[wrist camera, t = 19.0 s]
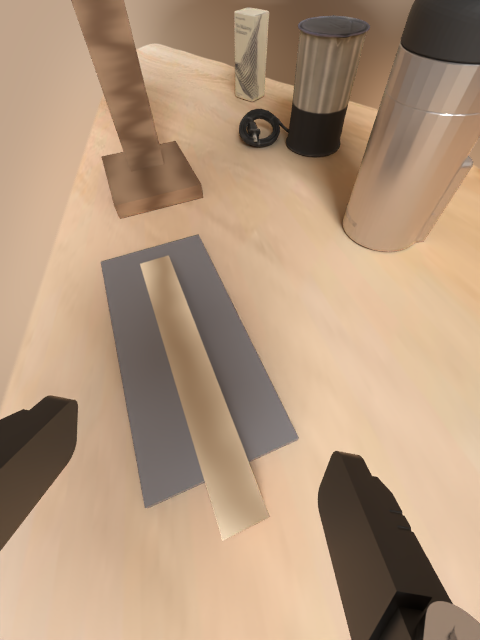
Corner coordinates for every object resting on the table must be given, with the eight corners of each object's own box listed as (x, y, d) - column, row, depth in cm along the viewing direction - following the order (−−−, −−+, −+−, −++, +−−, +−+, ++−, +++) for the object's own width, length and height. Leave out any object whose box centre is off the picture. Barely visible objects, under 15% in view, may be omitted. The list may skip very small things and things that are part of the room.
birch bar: (175, 275, 32) (168, 255, 29) (267, 516, 19) (270, 516, 17) (148, 283, 31) (139, 263, 29) (225, 537, 19) (222, 541, 16)
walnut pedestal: (177, 152, 49) (92, -271, 23) (204, 199, 41) (122, -367, 15) (106, 167, 47) (-81, -283, 20) (120, 220, 39) (-155, -403, 12)
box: (234, 97, 62) (231, 11, 51) (247, 91, 64) (247, 6, 53) (253, 103, 60) (254, 14, 49) (266, 96, 62) (269, 9, 51)
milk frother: (351, 150, 48) (386, 26, 36) (267, 173, 45) (274, 45, 32) (306, 118, 55) (322, 6, 43) (231, 136, 52) (226, 19, 40)
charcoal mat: (199, 239, 36) (198, 234, 36) (297, 440, 23) (298, 437, 22) (103, 266, 34) (100, 261, 33) (148, 508, 20) (144, 507, 20)
